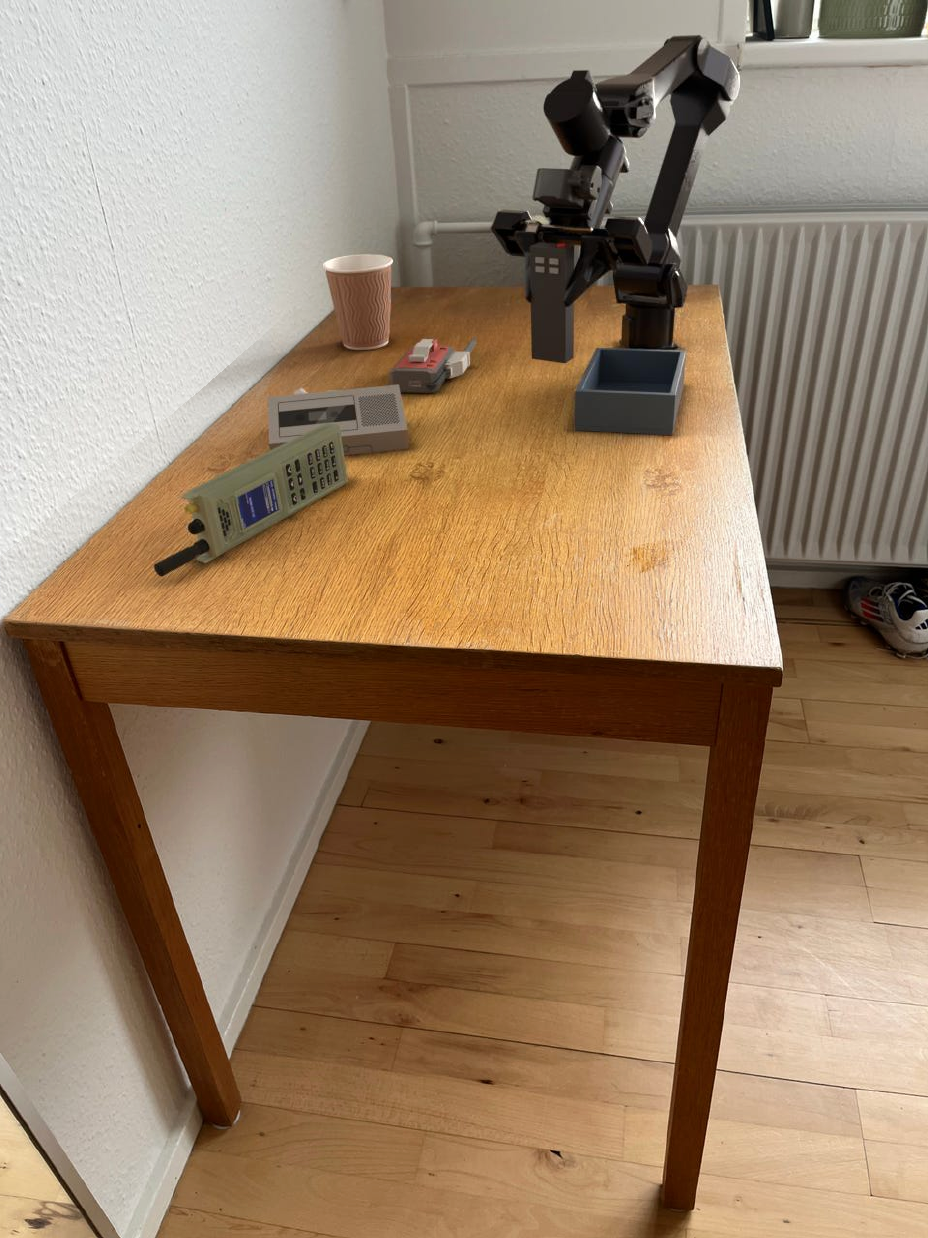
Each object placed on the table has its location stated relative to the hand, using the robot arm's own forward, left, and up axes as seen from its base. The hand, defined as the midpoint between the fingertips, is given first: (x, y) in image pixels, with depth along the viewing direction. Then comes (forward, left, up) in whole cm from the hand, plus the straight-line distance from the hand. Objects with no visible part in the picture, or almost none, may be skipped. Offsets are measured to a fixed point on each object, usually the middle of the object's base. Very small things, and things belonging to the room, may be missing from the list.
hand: (546, 302), depth 110 cm
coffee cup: (+14, -39, -14) cm, 44 cm away
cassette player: (+26, +3, -12) cm, 29 cm away
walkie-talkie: (+8, -21, -14) cm, 26 cm away
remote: (-1, -1, -7) cm, 7 cm away
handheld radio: (+38, +17, -14) cm, 44 cm away
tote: (-10, +3, -13) cm, 17 cm away
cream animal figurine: (+26, -10, -14) cm, 31 cm away
